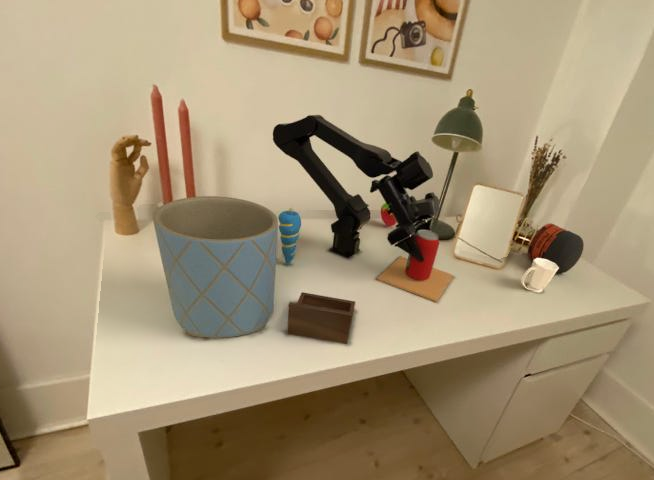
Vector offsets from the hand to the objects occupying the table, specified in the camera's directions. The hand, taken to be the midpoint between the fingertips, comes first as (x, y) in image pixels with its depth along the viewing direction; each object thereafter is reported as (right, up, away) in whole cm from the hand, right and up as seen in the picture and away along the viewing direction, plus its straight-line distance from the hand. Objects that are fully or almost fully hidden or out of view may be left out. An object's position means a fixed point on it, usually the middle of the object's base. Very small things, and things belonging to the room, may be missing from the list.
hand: (428, 254), depth 95 cm
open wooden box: (-24, -17, -18) cm, 34 cm away
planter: (-42, -15, -21) cm, 50 cm away
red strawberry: (-9, +18, +27) cm, 34 cm away
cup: (+30, -8, +11) cm, 33 cm away
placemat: (-3, -6, +4) cm, 8 cm away
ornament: (-35, -3, -2) cm, 35 cm away
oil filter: (+42, -1, +26) cm, 49 cm away
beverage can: (-3, -5, +4) cm, 7 cm away
